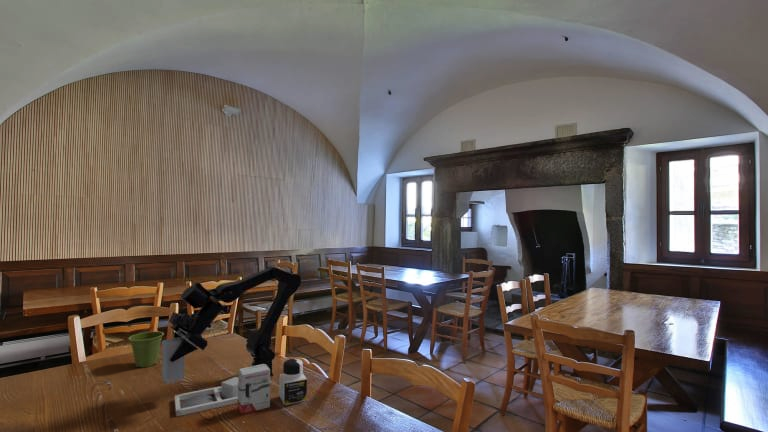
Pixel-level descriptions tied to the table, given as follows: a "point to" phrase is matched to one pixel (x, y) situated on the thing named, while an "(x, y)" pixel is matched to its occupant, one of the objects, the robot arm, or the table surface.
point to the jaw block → (171, 369)
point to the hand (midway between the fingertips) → (168, 359)
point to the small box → (229, 388)
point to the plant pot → (146, 347)
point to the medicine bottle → (292, 382)
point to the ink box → (253, 388)
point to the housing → (201, 401)
